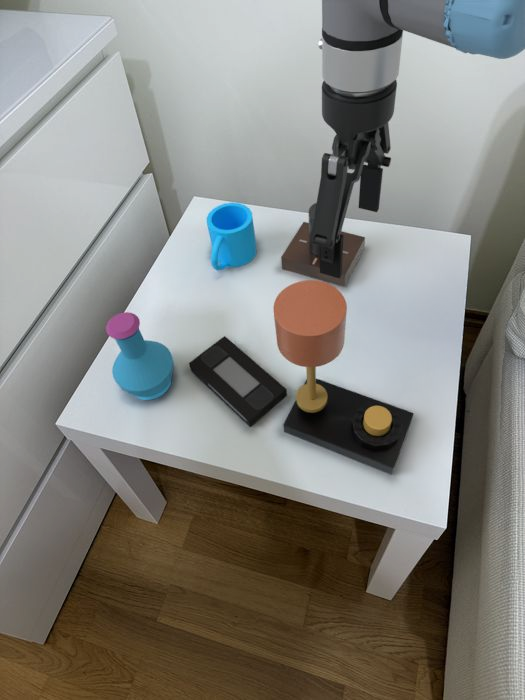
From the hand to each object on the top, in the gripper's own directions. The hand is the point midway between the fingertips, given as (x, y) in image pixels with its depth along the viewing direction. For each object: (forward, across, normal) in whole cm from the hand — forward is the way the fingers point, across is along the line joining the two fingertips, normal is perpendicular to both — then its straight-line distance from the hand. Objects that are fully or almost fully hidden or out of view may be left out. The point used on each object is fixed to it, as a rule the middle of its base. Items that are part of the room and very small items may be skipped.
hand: (350, 239), depth 69 cm
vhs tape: (+19, +16, -11) cm, 28 cm away
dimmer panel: (+19, -13, -10) cm, 25 cm away
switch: (+16, +16, +11) cm, 25 cm away
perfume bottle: (+19, +22, -24) cm, 38 cm away
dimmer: (+16, -13, -10) cm, 23 cm away
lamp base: (+19, +16, +7) cm, 26 cm away
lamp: (+15, +16, +1) cm, 22 cm away
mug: (+19, -7, -26) cm, 33 cm away
